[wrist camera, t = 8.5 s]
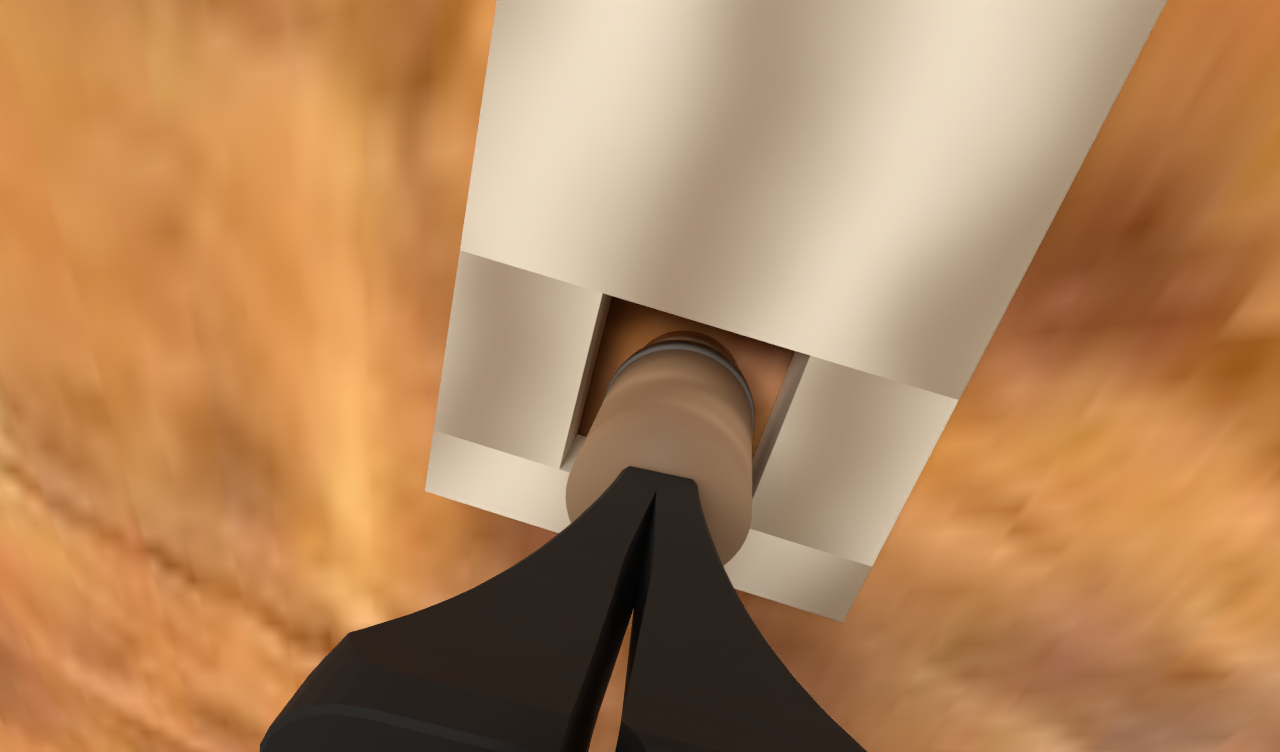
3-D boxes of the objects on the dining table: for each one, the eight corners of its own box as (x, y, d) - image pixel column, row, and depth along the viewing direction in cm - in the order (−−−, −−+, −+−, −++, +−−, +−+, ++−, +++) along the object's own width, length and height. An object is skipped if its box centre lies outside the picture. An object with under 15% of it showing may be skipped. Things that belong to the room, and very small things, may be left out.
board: (1132, -30, 13) (1193, -51, 11) (834, 574, 20) (842, 622, 18) (560, -188, 14) (531, -232, 12) (454, 455, 20) (424, 490, 18)
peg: (768, 334, 17) (776, 446, 12) (737, 454, 19) (731, 603, 13) (629, 305, 18) (575, 402, 12) (610, 426, 19) (553, 561, 14)
